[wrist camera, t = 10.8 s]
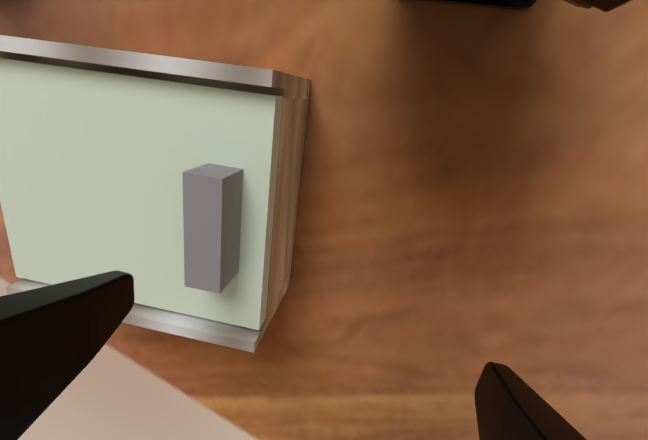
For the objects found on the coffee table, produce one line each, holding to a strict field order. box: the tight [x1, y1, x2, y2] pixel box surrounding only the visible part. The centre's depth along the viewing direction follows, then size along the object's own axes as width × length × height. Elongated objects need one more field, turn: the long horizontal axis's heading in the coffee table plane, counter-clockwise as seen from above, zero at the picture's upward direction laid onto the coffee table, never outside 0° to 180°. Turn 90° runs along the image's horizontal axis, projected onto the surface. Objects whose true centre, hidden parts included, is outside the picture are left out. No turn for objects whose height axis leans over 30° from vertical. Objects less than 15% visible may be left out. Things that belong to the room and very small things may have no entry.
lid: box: [0, 58, 283, 330], centre depth 16 cm, size 14×11×3 cm
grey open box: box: [0, 35, 311, 353], centre depth 19 cm, size 14×13×7 cm
